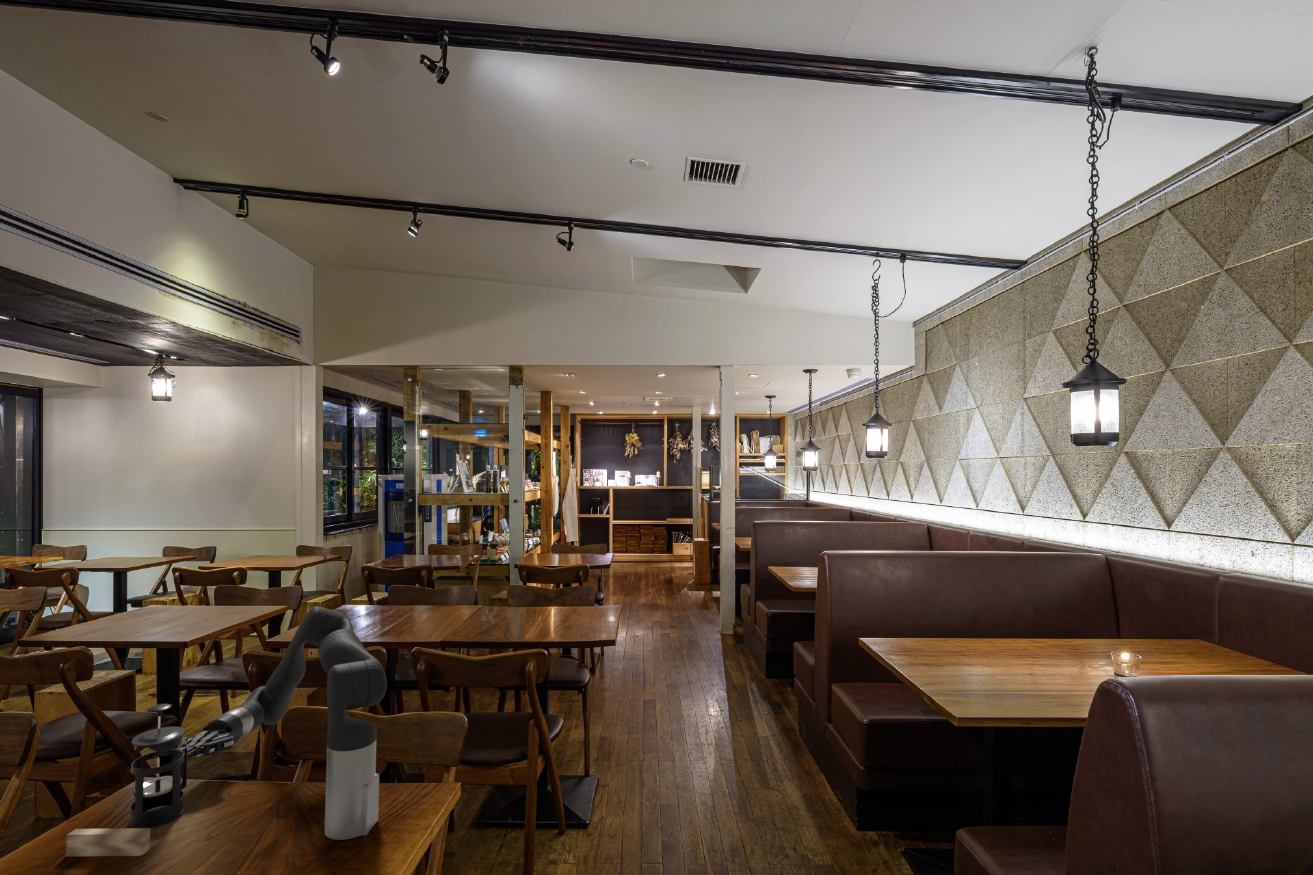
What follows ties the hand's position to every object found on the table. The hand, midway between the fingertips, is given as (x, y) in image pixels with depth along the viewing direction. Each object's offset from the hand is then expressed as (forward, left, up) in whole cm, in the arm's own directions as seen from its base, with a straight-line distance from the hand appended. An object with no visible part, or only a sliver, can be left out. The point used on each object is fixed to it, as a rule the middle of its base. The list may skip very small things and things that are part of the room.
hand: (179, 758), depth 146 cm
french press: (0, +6, -9) cm, 11 cm away
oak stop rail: (0, +19, -9) cm, 21 cm away
